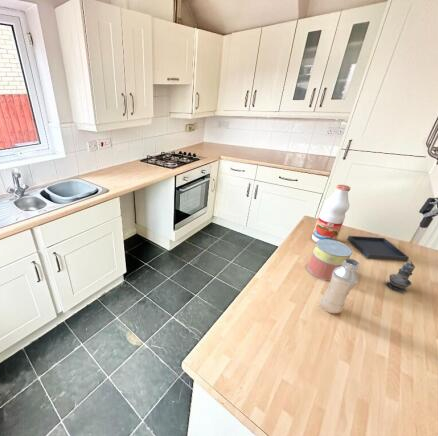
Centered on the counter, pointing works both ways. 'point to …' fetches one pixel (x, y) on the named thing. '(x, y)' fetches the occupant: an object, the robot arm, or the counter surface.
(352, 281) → the plastic bottle
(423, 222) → the robot arm
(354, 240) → the tray
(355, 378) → the counter surface
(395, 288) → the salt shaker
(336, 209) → the fruit juice
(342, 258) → the canned food
